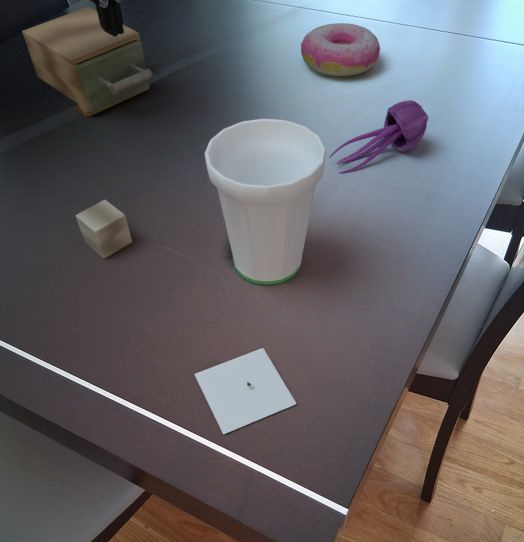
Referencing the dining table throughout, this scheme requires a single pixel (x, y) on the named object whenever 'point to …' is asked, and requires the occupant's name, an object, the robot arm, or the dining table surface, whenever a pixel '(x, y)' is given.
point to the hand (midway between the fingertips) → (113, 32)
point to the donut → (340, 49)
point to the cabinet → (71, 51)
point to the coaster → (244, 390)
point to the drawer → (114, 76)
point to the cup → (266, 193)
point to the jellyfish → (392, 132)
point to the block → (104, 228)
